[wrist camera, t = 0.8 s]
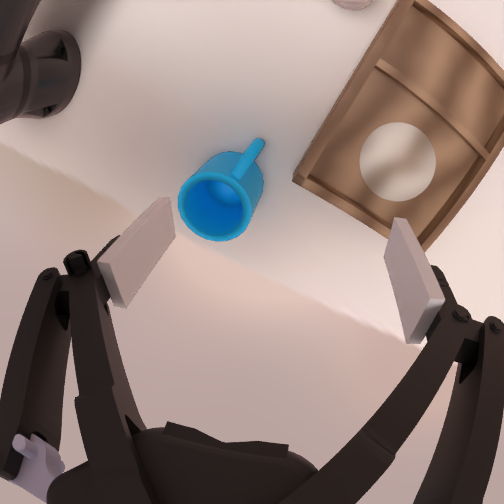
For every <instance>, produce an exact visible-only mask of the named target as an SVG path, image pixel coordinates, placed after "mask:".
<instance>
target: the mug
mask: <svg viewBox="0 0 504 504" xmlns="http://www.w3.org/2000/svg"><path fill="white" fill-rule="evenodd" d="M264 145H265V142H264V141H263V140H262V139H261V138H256V139H255V140H254V141H253V142H252V143H251V145H250V146H249V147H248V149H247V150H246V151H245V153H244V154H242V153H238V152H231V151H229V152H223V153H220V154H218V155H216V156H214V157H212V158H211V159H210V160H209V161H208V162H207V163H205V164H204V165H203V166H202V167H201V168H200V169H199V170H198V171H197V172H195V173H194V174H193V175H192V176H191V177H190V178H189V179H188V180H187V181H186V182H185V183H184V185H183V186H182V187H181V190H180V193H179V196H178V209H179V212H180V215H181V218H182V219H183V221H184V222H185V224H186V225H187V227H188V228H189V229H191V230H192V231H193V232H194V233H195V234H197V235H199V236H201V237H203V238H205V239H207V240H212V241H228V240H231V239H233V238H236V237H238V236H239V235H240V234H241V233H242V232H243V231H245V229H246V228H247V226H248V224H249V222H250V220H251V217H252V215H253V213H254V210H255V208H256V205H257V203H258V201H259V198H260V196H261V193H262V190H263V183H264V182H263V177H262V172H261V171H260V169H259V167H258V165H257V164H256V163H255V162H254V160H255V158H256V157H257V155H258V154H259V153H260V151H261V150H262V148H263V147H264Z"/></svg>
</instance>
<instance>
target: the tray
mask: <svg viewBox="0 0 504 504" xmlns="http://www.w3.org/2000/svg"><path fill="white" fill-rule="evenodd" d="M503 147H504V71H503V69H502V68H501V67H500V66H499V65H498V64H497V63H496V62H495V60H494V59H493V58H492V57H491V56H490V55H489V54H488V53H487V52H486V51H485V50H484V49H483V48H482V47H481V46H480V45H479V44H478V43H477V42H476V41H475V40H474V39H473V38H472V37H471V36H470V35H469V34H468V33H467V32H466V31H465V30H463V29H462V28H461V27H460V26H459V25H458V24H457V23H456V22H454V21H453V20H452V19H451V18H450V17H448V16H447V15H446V14H445V13H444V12H442V11H441V10H440V9H438V8H437V7H436V6H435V5H433V4H432V3H431V2H429V1H428V0H397V2H396V4H395V5H394V7H393V9H392V10H391V12H390V13H389V15H388V17H387V18H386V20H385V22H384V23H383V25H382V27H381V28H380V30H379V32H378V33H377V35H376V37H375V38H374V40H373V41H372V43H371V45H370V46H369V48H368V50H367V51H366V53H365V55H364V56H363V58H362V60H361V61H360V63H359V65H358V66H357V68H356V70H355V71H354V73H353V75H352V76H351V78H350V80H349V81H348V83H347V85H346V86H345V88H344V90H343V91H342V93H341V95H340V96H339V98H338V100H337V101H336V103H335V105H334V106H333V108H332V110H331V111H330V113H329V115H328V116H327V118H326V120H325V121H324V123H323V125H322V126H321V128H320V130H319V131H318V133H317V135H316V136H315V138H314V140H313V141H312V143H311V145H310V146H309V148H308V150H307V151H306V153H305V155H304V156H303V158H302V160H301V161H300V163H299V165H298V166H297V168H296V170H295V172H294V173H293V179H292V182H294V183H296V184H298V185H299V186H301V187H303V188H305V189H306V190H308V191H310V192H312V193H314V194H315V195H317V196H319V197H321V198H322V199H324V200H326V201H327V202H329V203H331V204H333V205H334V206H336V207H338V208H339V209H341V210H343V211H344V212H346V213H348V214H349V215H351V216H352V217H354V218H356V219H357V220H359V221H361V222H362V223H364V224H365V225H367V226H368V227H370V228H372V229H373V230H375V231H376V232H378V233H379V234H381V235H383V236H384V237H386V238H387V239H389V236H390V232H391V228H392V225H393V221H394V217H397V218H404V219H407V221H408V223H409V225H410V227H411V228H412V230H413V232H414V234H415V236H416V238H417V240H418V242H419V244H420V246H421V248H422V249H423V251H424V253H425V252H426V250H427V249H428V248H429V247H430V246H431V245H432V243H433V242H434V241H435V240H436V239H437V238H438V236H439V235H440V234H441V233H442V232H443V230H444V229H445V228H446V227H447V226H448V224H449V223H450V222H451V221H452V219H453V218H454V217H455V215H456V214H457V213H458V212H459V210H460V209H461V208H462V206H463V205H464V204H465V202H466V201H467V200H468V198H469V197H470V196H471V194H472V193H473V192H474V190H475V189H476V187H477V186H478V185H479V183H480V182H481V180H482V179H483V177H484V176H485V174H486V173H487V172H488V170H489V169H490V167H491V165H492V164H493V162H494V161H495V159H496V158H497V156H498V155H499V153H500V151H501V150H502V148H503Z"/></svg>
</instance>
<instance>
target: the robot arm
mask: <svg viewBox="0 0 504 504" xmlns="http://www.w3.org/2000/svg"><path fill="white" fill-rule="evenodd" d="M40 1H41V0H0V124H2V123H4V122H6V121H9V120H11V119H14V118H35V119H41V118H46V117H49V116H52V115H55V114H57V113H59V112H60V111H62V110H63V109H64V108H65V107H66V106H67V104H68V103H69V101H70V100H71V98H72V96H73V94H74V92H75V90H76V87H77V84H78V80H79V75H80V53H79V48H78V45H77V43H76V41H75V39H74V38H73V37H72V36H71V35H70V34H69V33H67V32H65V31H61V30H57V31H46V32H43V33H41V34H39V35H36V36H34V37H32V38H30V39H28V40H26V41H24V42H22V39H23V37H24V34H25V32H26V30H27V27H28V25H29V23H30V21H31V19H32V17H33V15H34V13H35V11H36V9H37V7H38V5H39V3H40ZM21 42H22V43H21ZM175 237H176V235H175V229H174V223H173V216H172V210H171V203H170V198H158V199H157V200H156V201H155V202H154V203H152V204H151V205H150V206H149V207H148V208H147V209H146V210H145V211H144V212H143V213H142V214H141V215H140V216H139V217H138V218H137V219H136V220H135V221H134V222H133V223H132V224H131V225H130V226H129V227H128V228H127V229H126V231H125V232H124V233H123V234H122V235H119V236H117V237H115V238H113V239H112V240H111V241H110V242H109V243H108V244H107V245H106V247H104V248H103V249H102V251H100V252H99V253H98V254H97V256H96V257H95V258H94V259H93V260H92V261H91V262H90V259H89V257H88V254H87V251H85V250H77V251H74V252H71V253H70V254H68V255H67V256H66V257H65V258H64V261H63V263H64V265H65V268H66V270H67V273H68V275H60V273H59V271H58V269H57V268H55V267H53V268H47V269H46V270H44V271H43V272H42V273H40V275H39V276H38V278H37V280H36V283H35V285H34V288H33V290H32V292H31V295H30V297H29V300H28V303H27V306H26V308H25V311H24V314H23V316H22V319H21V322H20V325H19V328H18V331H17V334H16V337H15V341H14V344H13V348H12V351H11V355H10V358H9V362H8V366H7V370H6V374H5V379H4V383H3V388H2V393H1V398H0V477H2V478H4V479H5V480H7V481H9V482H11V483H13V484H16V485H18V486H20V487H22V488H23V489H25V490H26V491H28V492H30V493H31V494H33V495H34V496H36V497H37V498H39V499H41V500H42V501H44V502H46V503H47V504H356V503H357V501H358V500H360V498H361V497H362V496H363V495H364V494H365V493H366V492H367V491H368V490H369V489H370V488H371V487H372V486H373V484H374V483H375V482H376V481H377V480H378V479H379V478H380V476H382V474H383V473H384V472H385V471H386V470H387V468H388V467H389V466H390V465H391V463H392V462H393V460H394V459H395V454H396V452H397V451H398V450H399V448H400V447H401V445H402V444H403V443H404V442H405V440H406V438H407V437H408V436H409V435H410V433H411V432H412V430H413V429H414V428H415V426H416V425H417V423H418V422H419V420H420V419H421V417H422V416H423V414H424V413H425V411H426V409H427V408H428V406H429V404H430V403H431V401H432V400H433V398H434V396H435V395H436V393H437V391H438V390H439V388H440V386H441V384H442V382H443V381H444V379H445V377H446V375H447V373H448V371H449V369H450V368H451V366H452V364H453V362H454V361H455V362H458V367H457V372H456V377H455V382H454V387H453V391H452V395H451V400H450V403H449V407H448V411H447V415H446V418H445V422H444V425H443V428H442V432H441V435H440V438H439V441H438V444H437V447H436V450H435V452H434V455H433V458H432V460H431V463H430V466H429V468H428V470H427V473H426V475H425V478H424V480H423V482H422V484H421V487H420V489H419V491H418V493H417V495H416V498H415V500H414V503H413V504H482V503H483V497H484V494H485V491H486V488H487V484H488V481H489V478H490V475H491V471H492V467H493V463H494V459H495V455H496V451H497V446H498V441H499V436H500V429H501V424H502V417H503V409H504V324H503V322H502V321H501V320H500V319H498V318H496V317H494V316H489V317H487V318H486V320H485V321H484V323H481V322H478V321H475V320H472V318H471V315H470V313H469V312H468V310H467V309H465V308H464V307H463V306H460V305H458V304H457V302H456V300H455V297H454V295H453V293H452V291H451V288H450V287H449V284H448V282H447V281H446V278H445V276H444V274H443V272H442V271H441V270H440V269H439V268H438V267H437V266H433V265H430V264H429V262H428V260H427V258H426V256H425V253H424V251H423V249H422V248H421V246H420V244H419V242H418V240H417V238H416V236H415V234H414V232H413V230H412V228H411V227H410V225H409V223H408V221H407V219H404V218H397V217H394V221H393V225H392V228H391V232H390V236H389V240H388V243H387V247H386V250H385V254H384V260H385V263H386V267H387V270H388V273H389V277H390V280H391V284H392V287H393V291H394V295H395V298H396V302H397V306H398V310H399V314H400V318H401V322H402V327H403V331H404V336H405V340H406V344H421V342H422V340H423V339H424V337H425V335H426V338H427V341H428V342H427V344H426V345H425V347H424V348H423V350H422V351H421V353H420V354H419V356H418V357H417V359H416V361H415V362H414V363H413V365H412V366H411V368H410V369H409V370H408V372H407V373H406V375H405V376H404V377H403V379H402V380H401V381H400V383H399V384H398V385H397V387H396V388H395V389H394V391H393V392H392V393H391V394H390V396H389V397H388V398H387V399H386V401H385V402H384V403H383V404H382V406H381V407H380V408H379V409H378V410H377V411H376V413H375V414H374V415H373V416H372V417H371V418H370V420H369V421H368V422H367V423H366V424H365V425H364V426H363V427H362V428H361V430H360V431H359V432H358V433H357V434H356V435H355V436H354V437H353V438H352V439H351V440H350V441H349V442H348V443H347V444H346V445H345V446H344V447H343V448H342V449H341V450H340V451H339V452H338V453H337V454H336V455H335V456H334V457H333V458H332V459H331V460H330V461H329V462H328V463H327V464H326V465H324V466H323V467H322V468H321V469H320V470H319V471H318V470H317V469H316V468H315V467H314V465H313V464H312V463H310V462H309V461H308V460H306V459H305V458H303V457H302V456H300V455H298V454H296V453H293V452H291V451H288V447H289V445H288V444H287V445H286V444H277V443H269V442H262V441H249V442H230V443H225V442H221V441H219V440H217V439H215V438H213V437H211V436H208V435H207V434H205V433H203V432H201V431H199V430H197V429H194V428H190V427H186V426H182V425H179V424H175V423H171V422H167V423H166V426H165V427H160V428H152V429H146V426H145V425H144V423H143V421H142V419H141V417H140V415H139V412H138V409H137V406H136V404H135V401H134V398H133V395H132V392H131V389H130V386H129V382H128V379H127V376H126V373H125V369H124V366H123V363H122V359H121V355H120V352H119V348H118V344H117V340H116V337H115V332H114V328H113V324H112V319H111V315H110V310H109V306H108V304H107V301H108V300H109V298H110V297H111V300H112V302H113V304H114V306H117V307H121V308H127V307H128V305H129V304H130V302H131V301H132V299H133V298H134V296H135V295H136V293H137V292H138V290H139V289H140V287H141V285H142V284H143V283H144V281H145V280H146V278H147V277H148V275H149V274H150V272H151V271H152V270H153V268H154V267H155V265H156V264H157V262H158V261H159V259H160V258H161V257H162V255H163V254H164V252H165V251H166V250H167V248H168V247H169V245H170V244H171V243H172V241H173V240H174V239H175ZM71 337H72V347H73V356H74V364H75V371H76V377H77V383H78V389H79V396H78V397H75V400H74V401H75V409H76V413H77V419H78V423H79V428H80V432H81V436H82V440H83V444H84V448H85V451H86V455H87V458H88V461H86V462H85V463H83V464H81V465H79V466H77V467H75V468H73V469H71V470H69V471H67V472H64V473H62V472H63V471H64V469H65V465H64V463H63V462H62V461H61V458H60V455H59V453H58V451H59V446H60V440H61V427H62V407H63V395H64V385H65V375H66V368H67V360H68V354H69V347H70V341H71Z"/></svg>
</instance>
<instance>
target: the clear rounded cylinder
mask: <svg viewBox="0 0 504 504" xmlns="http://www.w3.org/2000/svg"><path fill="white" fill-rule="evenodd" d="M332 1H333V2H334V3H335V4H337V5H338V6H340V7H342V8H344V9H348V10H360V9H363V8H365V7H367V6H368V5H369V3H370V2H371V1H372V0H332Z"/></svg>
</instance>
